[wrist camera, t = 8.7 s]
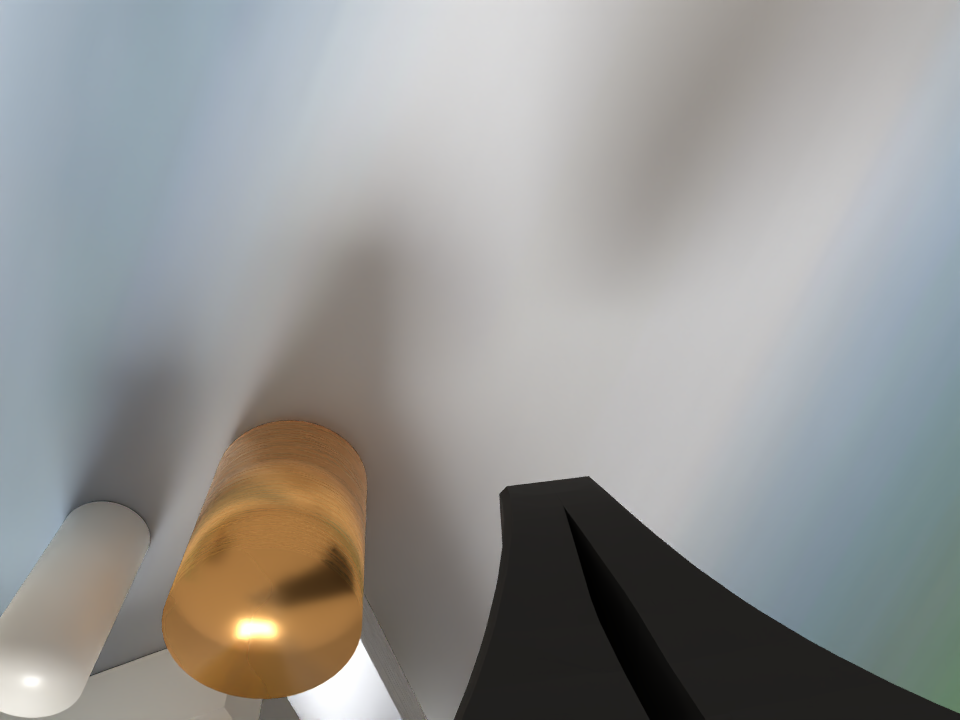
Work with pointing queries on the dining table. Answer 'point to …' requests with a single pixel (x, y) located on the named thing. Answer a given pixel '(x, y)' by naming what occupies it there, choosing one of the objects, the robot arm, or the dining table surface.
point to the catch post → (68, 608)
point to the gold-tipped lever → (286, 582)
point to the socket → (152, 696)
